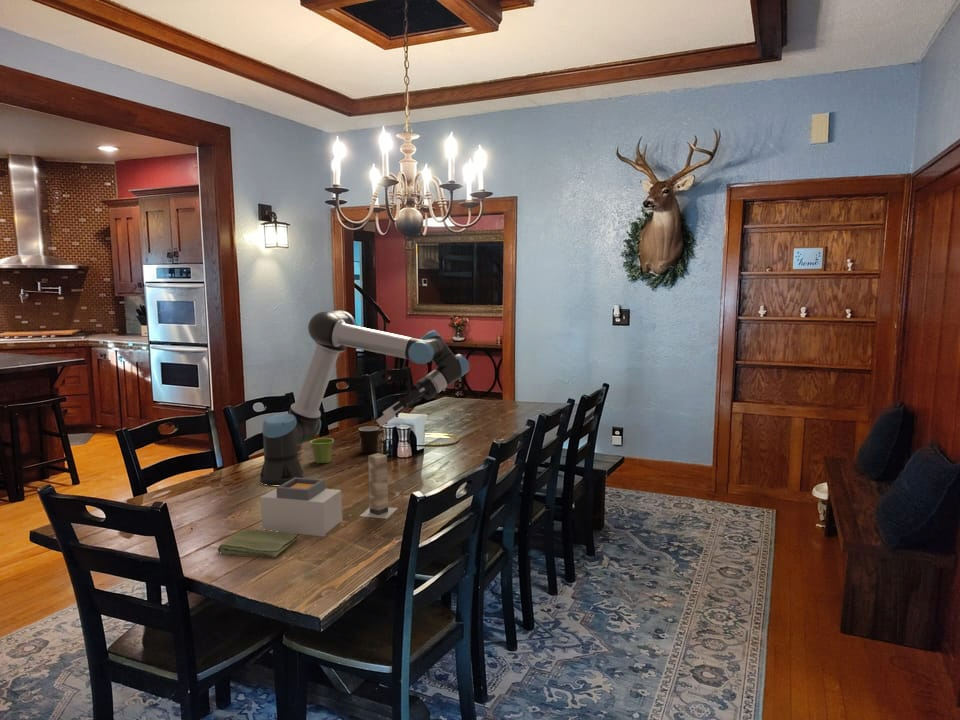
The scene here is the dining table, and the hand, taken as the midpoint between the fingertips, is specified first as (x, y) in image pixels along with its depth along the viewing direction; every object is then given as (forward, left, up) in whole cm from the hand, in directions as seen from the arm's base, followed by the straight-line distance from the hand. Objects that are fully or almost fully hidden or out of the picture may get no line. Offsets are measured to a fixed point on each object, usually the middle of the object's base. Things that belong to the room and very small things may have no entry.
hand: (381, 419), depth 208 cm
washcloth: (-16, -47, -27) cm, 57 cm away
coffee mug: (-27, +51, -26) cm, 64 cm away
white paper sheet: (+6, -17, -26) cm, 31 cm away
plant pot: (-39, +31, -26) cm, 57 cm away
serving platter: (-12, +72, -27) cm, 78 cm away
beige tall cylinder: (+6, -17, -25) cm, 31 cm away
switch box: (-12, -31, -26) cm, 43 cm away
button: (-12, -31, -17) cm, 38 cm away
